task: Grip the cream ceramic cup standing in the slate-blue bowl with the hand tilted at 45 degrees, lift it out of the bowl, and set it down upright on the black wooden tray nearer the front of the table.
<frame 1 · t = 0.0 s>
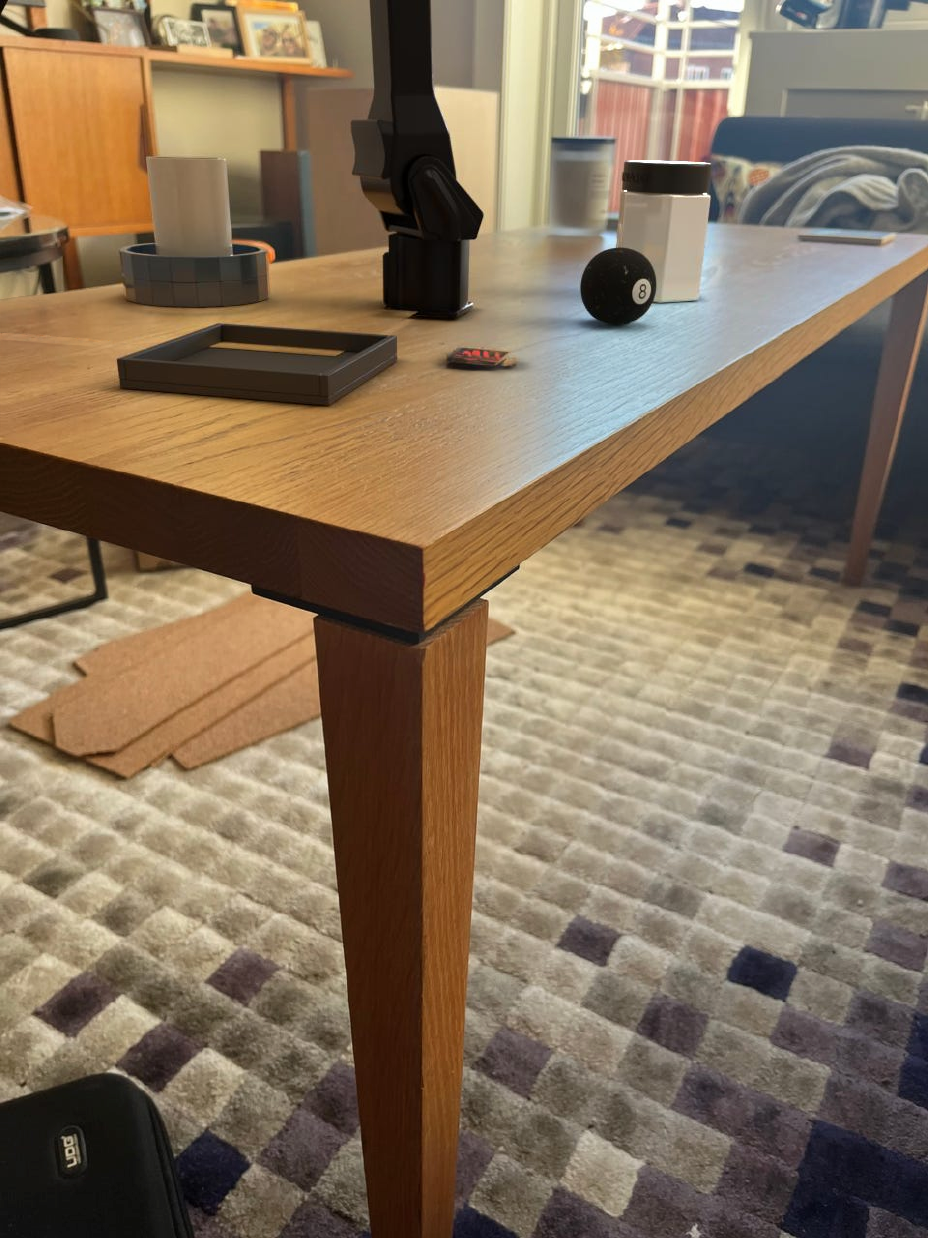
tray: (268, 373, 63), on the table
cup: (198, 296, 87), point 1 cm above the table, touching bowl
billiard ball: (614, 326, 83), on the table
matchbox: (481, 363, 68), on the table
jar: (654, 298, 98), on the table
bowl: (199, 303, 87), on the table
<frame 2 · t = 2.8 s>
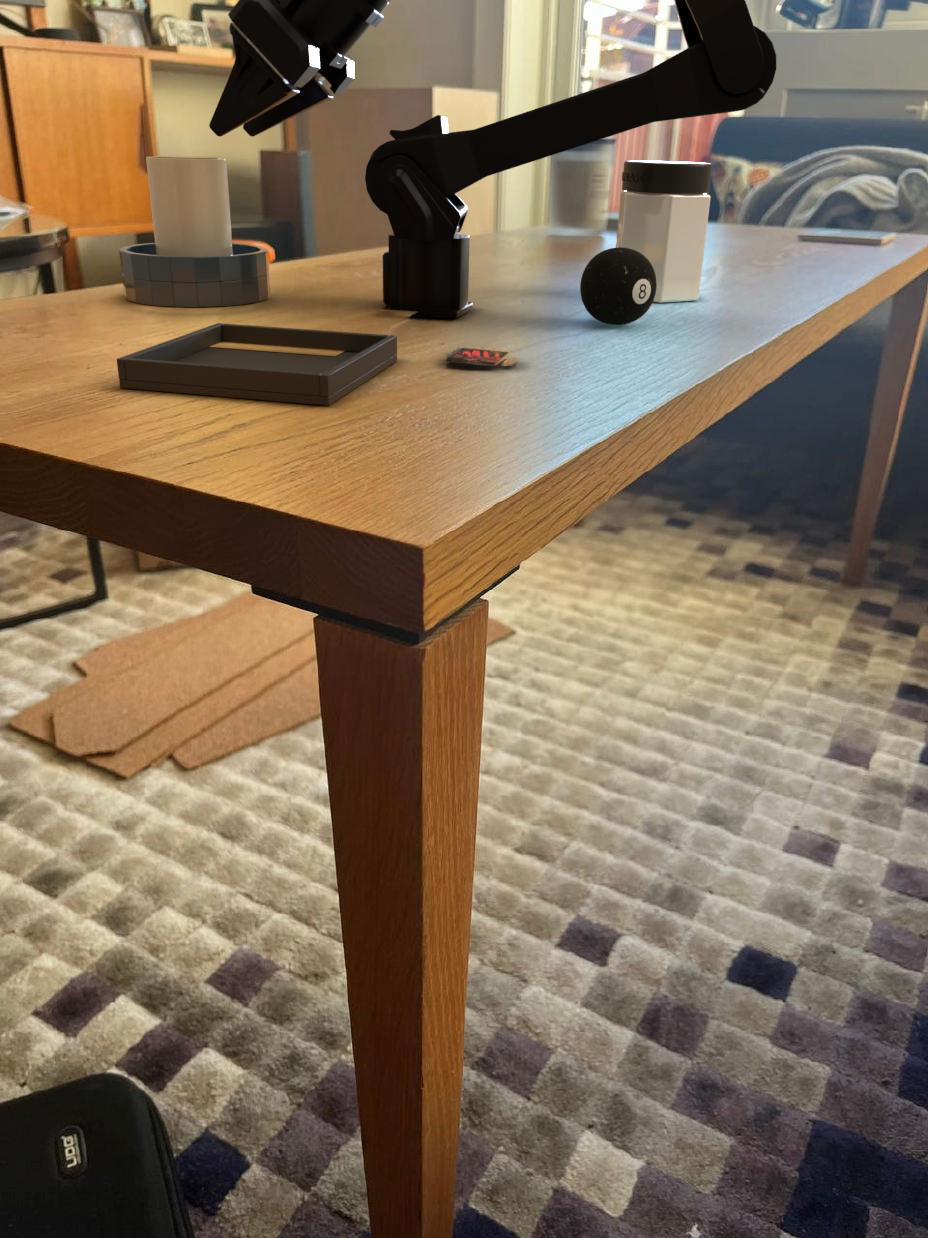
hand: (231, 131, 81), 14 cm above the table, tool tilted 45°, fingers open, 9 cm apart
nothing on the table moved.
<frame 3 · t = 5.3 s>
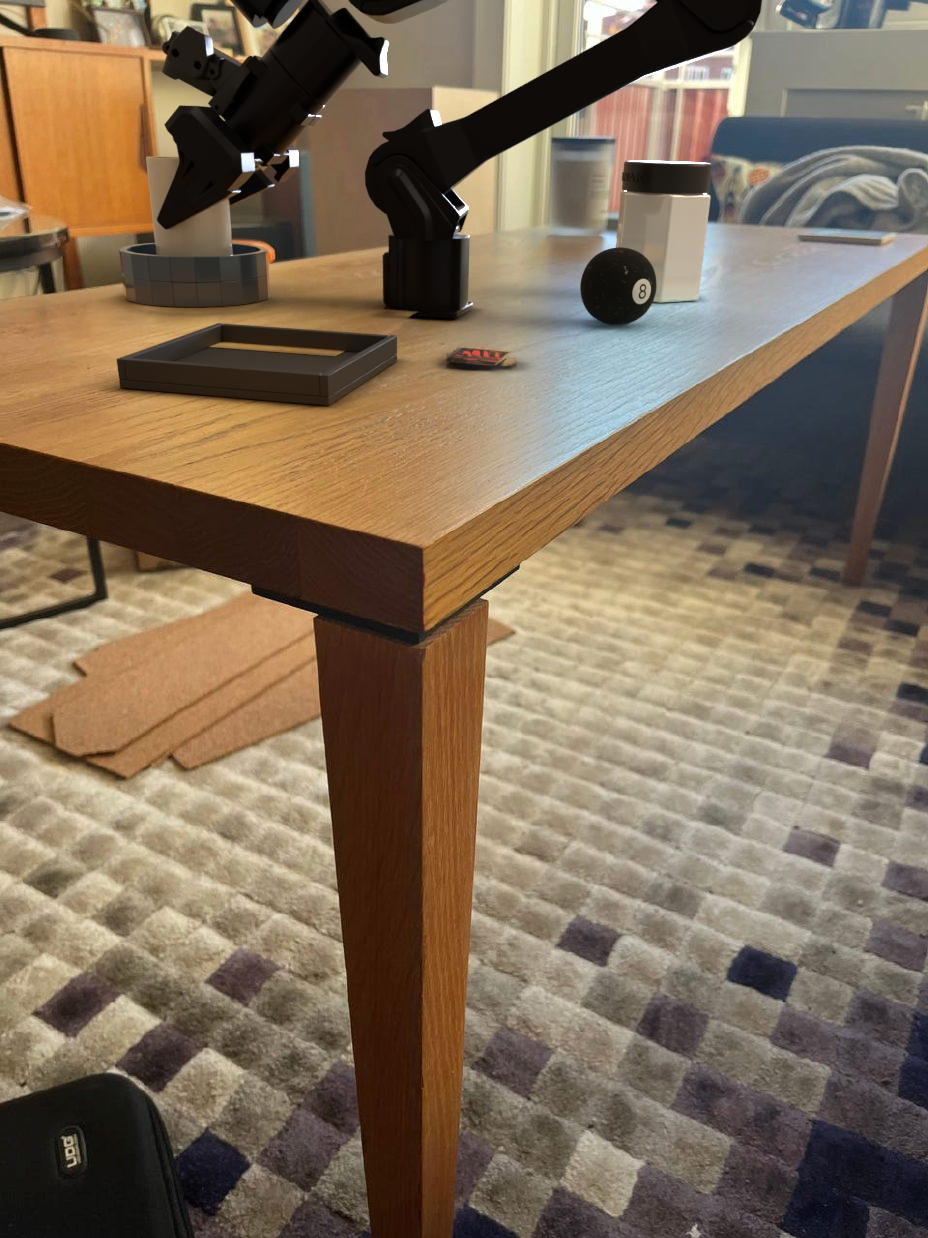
hand: (176, 221, 85), 7 cm above the table, tool tilted 45°, fingers closed on cup, 6 cm apart
cup: (198, 296, 87), point 1 cm above the table, touching bowl, gripper
everything else where it was.
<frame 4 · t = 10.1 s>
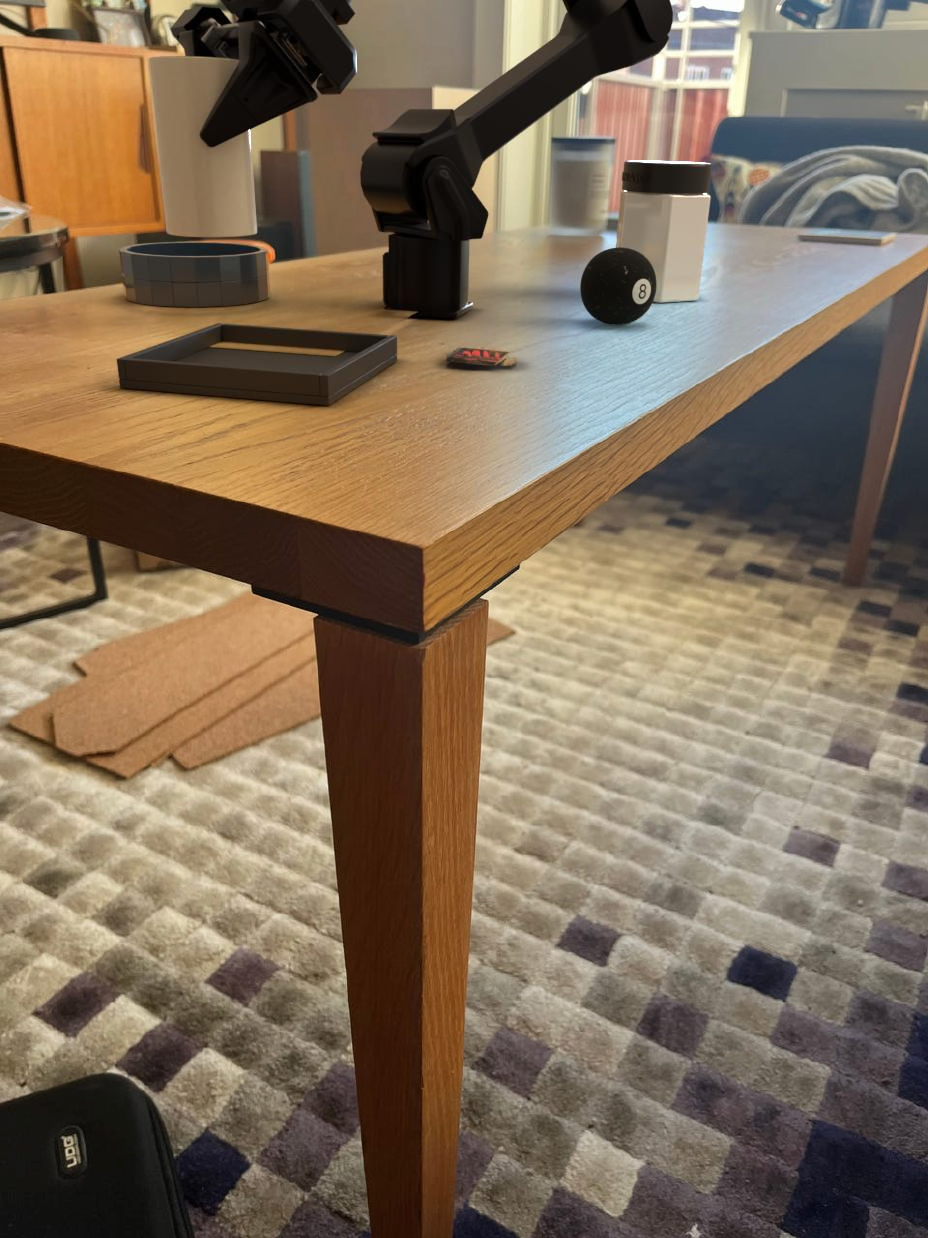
hand: (185, 140, 69), 13 cm above the table, tool tilted 45°, fingers closed on cup, 6 cm apart
cup: (212, 232, 72), point 7 cm above the table, touching gripper
everything else where it was.
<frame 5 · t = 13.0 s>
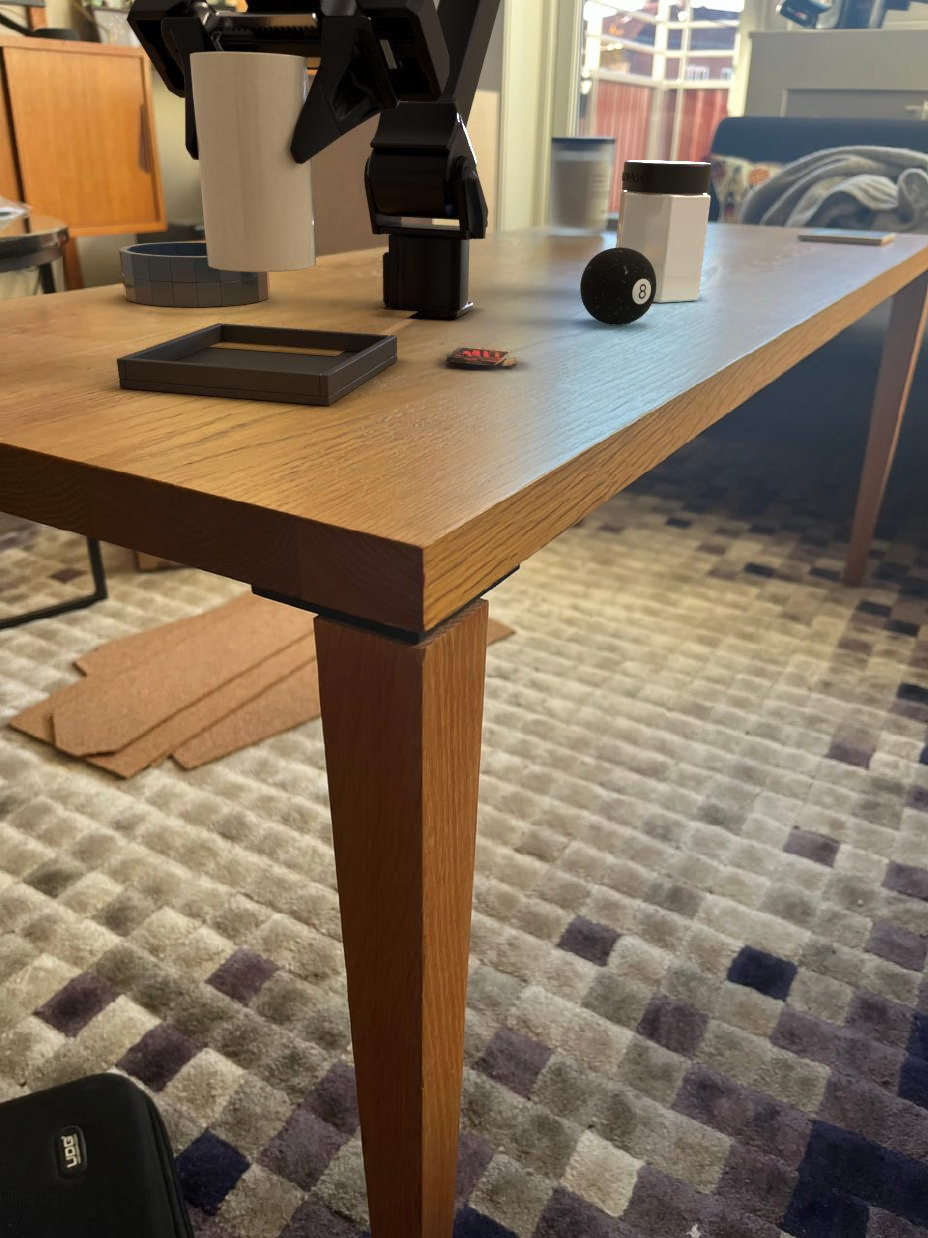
hand: (242, 155, 56), 12 cm above the table, tool tilted 45°, fingers closed on cup, 6 cm apart
cup: (262, 264, 60), point 6 cm above the table, touching gripper
everything else where it was.
when the fingers open (7 cm above the table, at t = 15.2 s): cup stays where it is, resting on tray.
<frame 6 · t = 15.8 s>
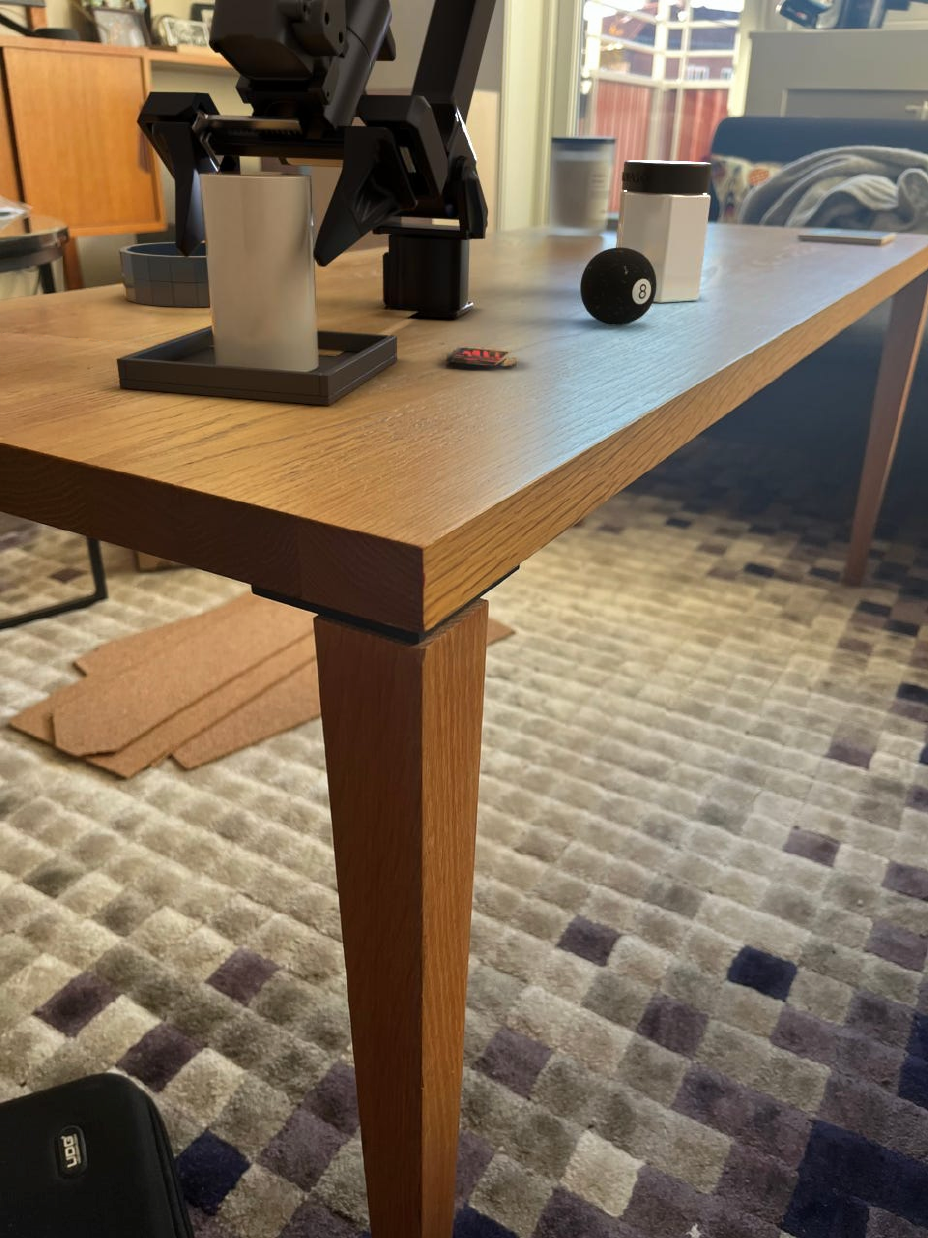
hand: (248, 256, 59), 7 cm above the table, tool tilted 45°, fingers open, 9 cm apart
cup: (267, 365, 63), resting on tray
everything else where it was.
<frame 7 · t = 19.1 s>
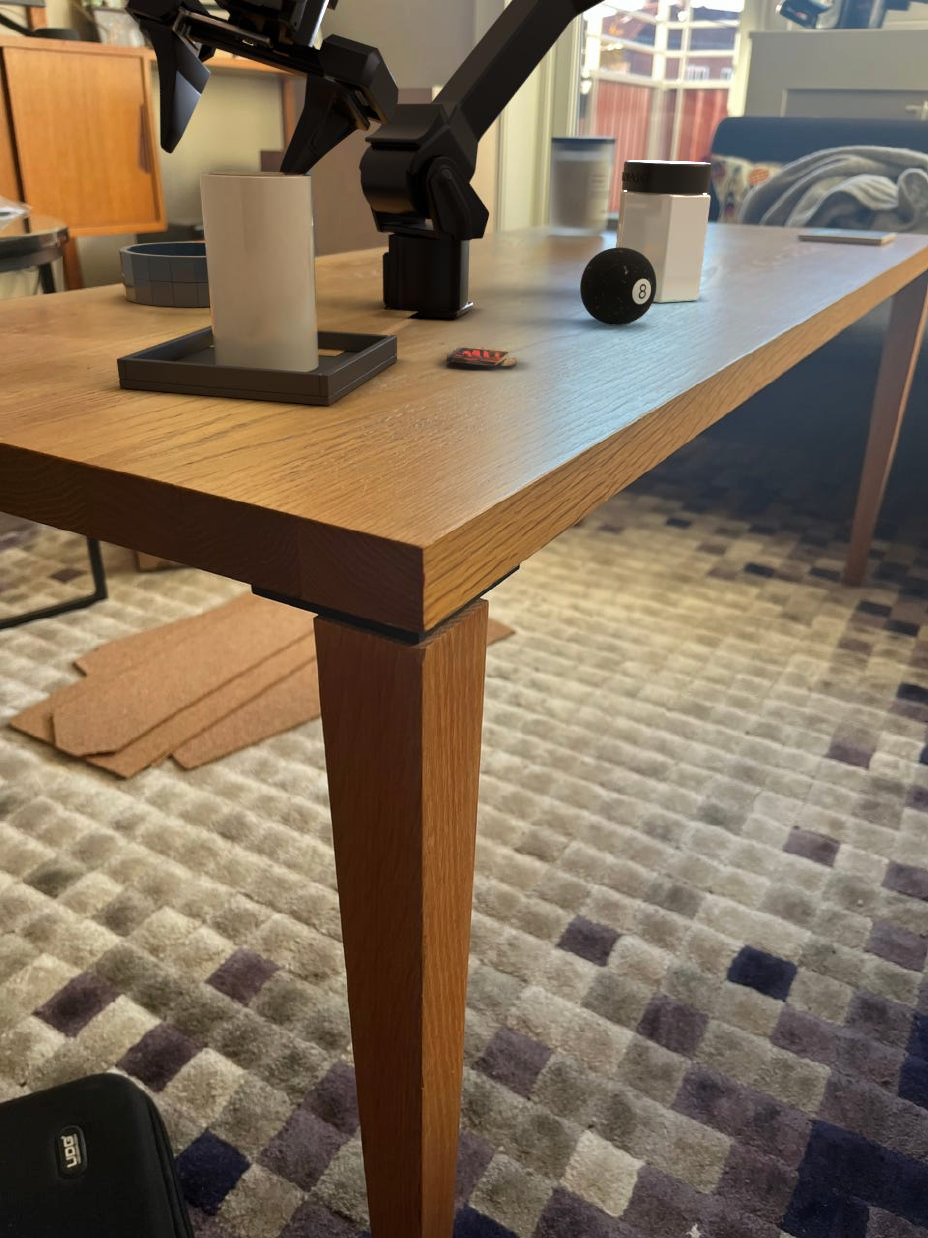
hand: (222, 170, 70), 11 cm above the table, tool tilted 30°, fingers open, 9 cm apart
nothing on the table moved.
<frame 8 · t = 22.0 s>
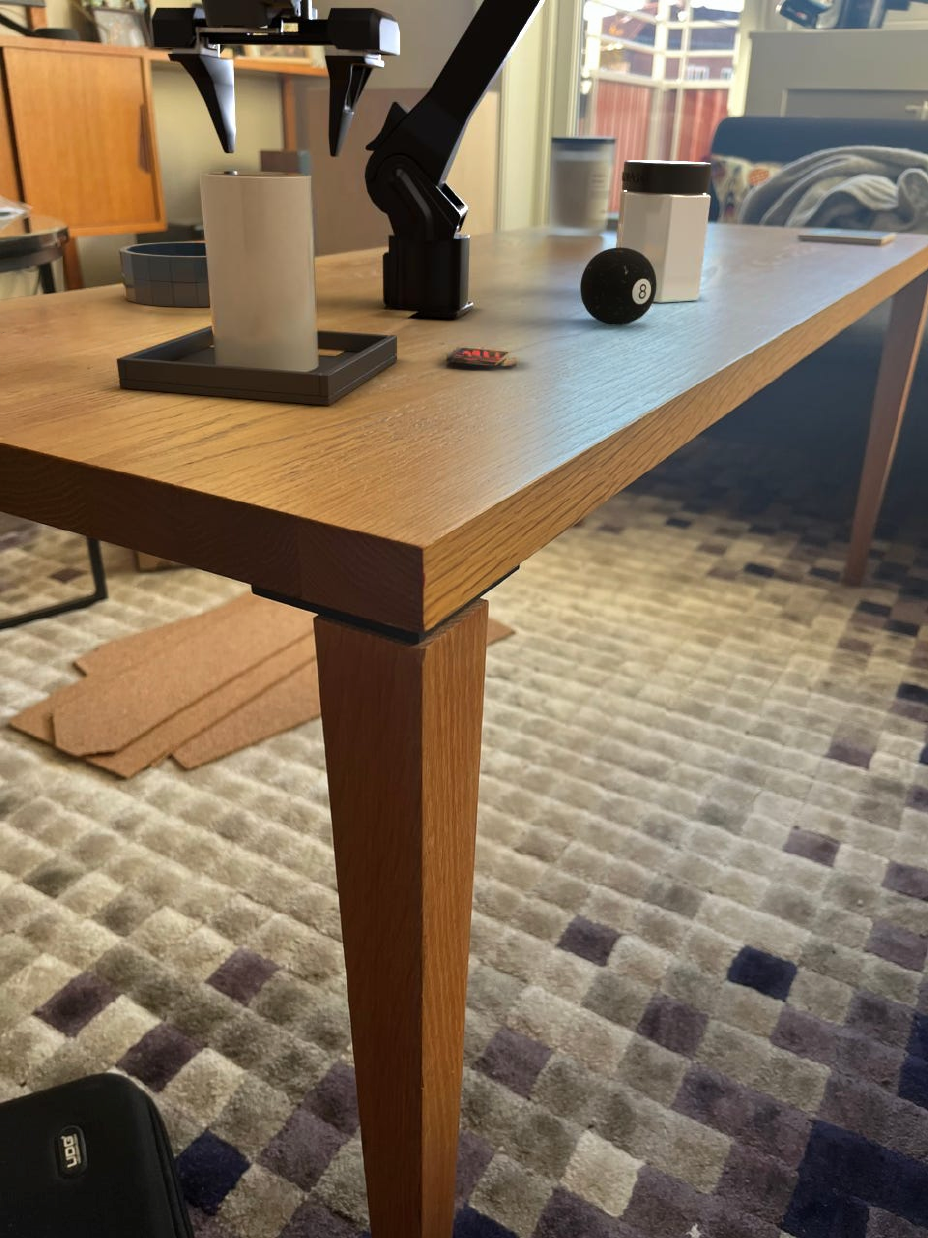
hand: (281, 154, 81), 12 cm above the table, tool pointing down, fingers open, 9 cm apart
nothing on the table moved.
at the end: cup inside the target area in the tray (0.0 cm from its centre), point 0.5 cm above the tray's base; cup tilted 0°; the gripper is holding nothing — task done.
